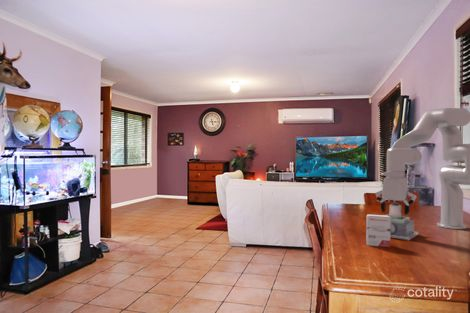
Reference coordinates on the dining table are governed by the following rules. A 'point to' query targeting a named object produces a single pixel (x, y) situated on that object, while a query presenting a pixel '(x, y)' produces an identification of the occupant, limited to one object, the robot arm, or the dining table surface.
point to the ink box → (378, 230)
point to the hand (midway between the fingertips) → (394, 212)
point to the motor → (402, 228)
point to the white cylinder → (395, 211)
